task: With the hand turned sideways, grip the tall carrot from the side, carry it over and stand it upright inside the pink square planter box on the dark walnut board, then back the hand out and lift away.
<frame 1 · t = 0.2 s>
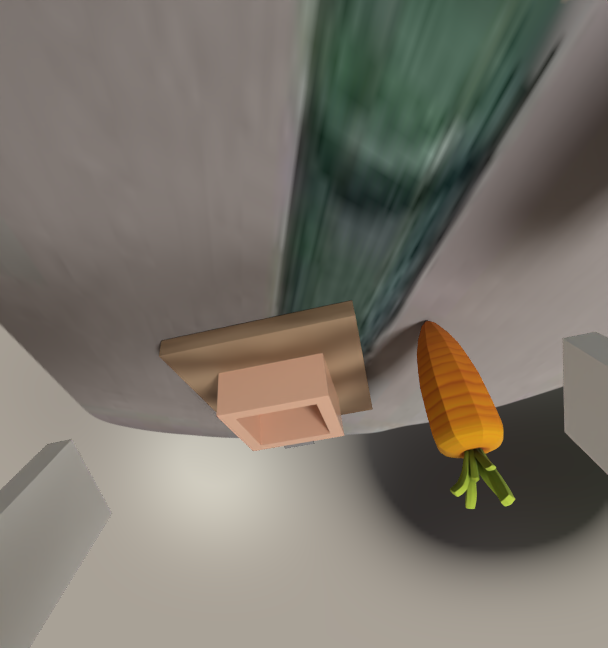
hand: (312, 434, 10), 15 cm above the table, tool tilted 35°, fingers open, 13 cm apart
carrot: (426, 319, 33), on the table
walnut board: (282, 373, 38), on the table
pink square planter box: (283, 387, 37), resting on walnut board
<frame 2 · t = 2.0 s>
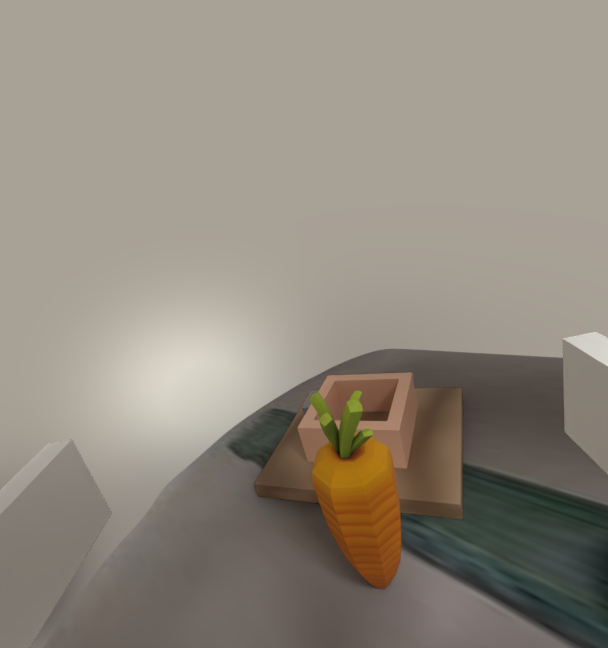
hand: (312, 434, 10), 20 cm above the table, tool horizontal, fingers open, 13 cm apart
carrot: (383, 586, 26), on the table
walnut board: (368, 443, 39), on the table
pink square planter box: (365, 432, 39), resting on walnut board
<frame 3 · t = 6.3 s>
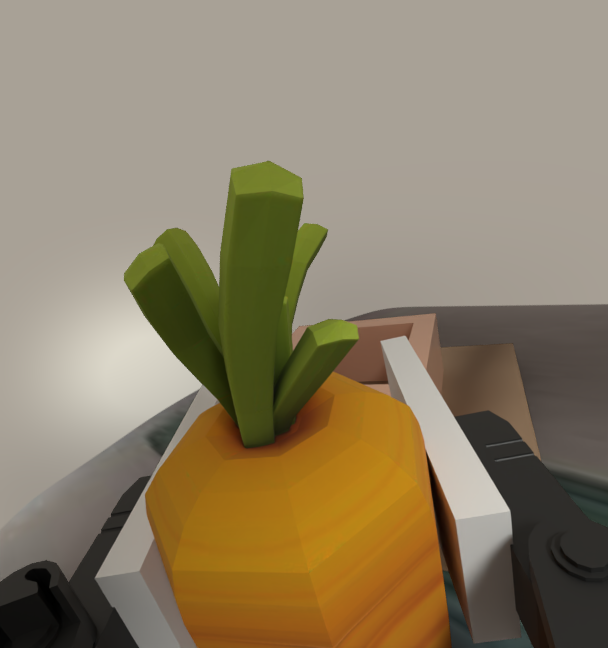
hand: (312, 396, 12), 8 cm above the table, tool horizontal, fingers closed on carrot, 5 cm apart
walnut board: (362, 432, 23), on the table
pink square planter box: (357, 411, 23), resting on walnut board
when the fingers open (11 cm above the table, at t = 10.8 s): carrot drops 1 cm, resting on walnut board.
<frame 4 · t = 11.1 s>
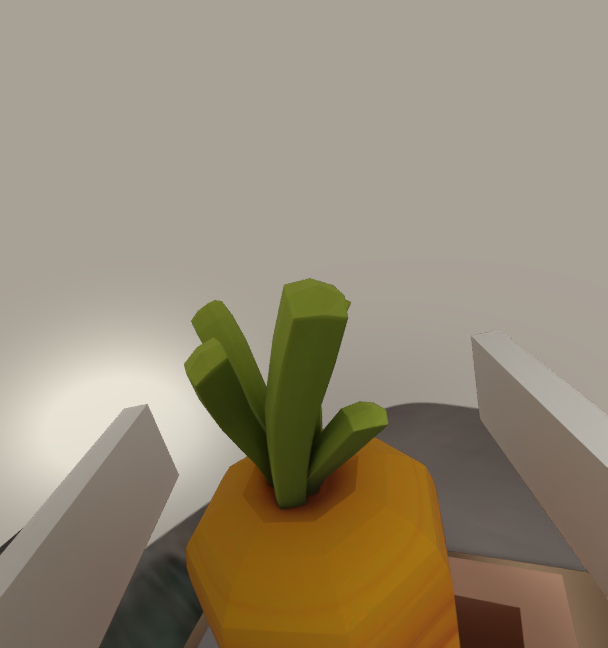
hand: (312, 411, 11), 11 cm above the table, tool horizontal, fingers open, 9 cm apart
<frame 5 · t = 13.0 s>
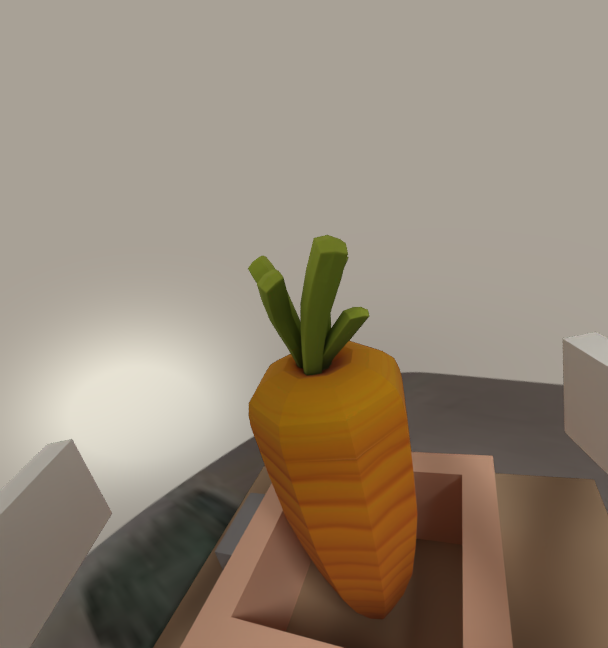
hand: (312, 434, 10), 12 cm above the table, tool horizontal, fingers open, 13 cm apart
carrot: (379, 614, 15), point 1 cm above the table, touching walnut board
walnut board: (385, 635, 16), on the table
pink square planter box: (378, 611, 15), resting on walnut board
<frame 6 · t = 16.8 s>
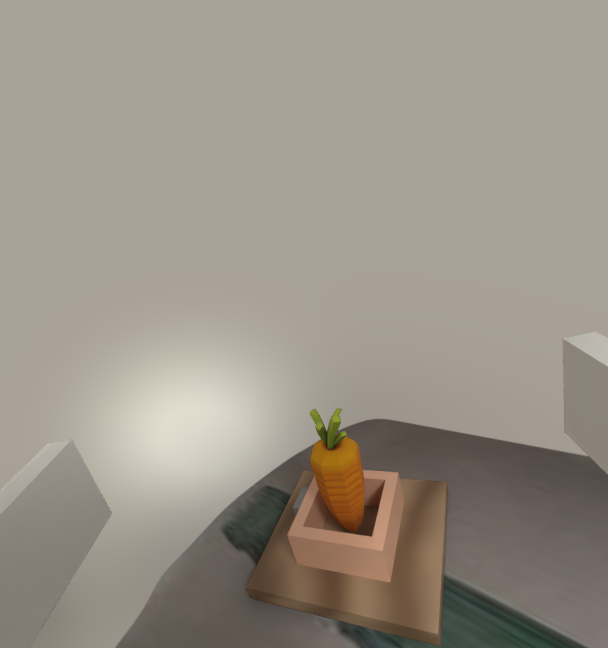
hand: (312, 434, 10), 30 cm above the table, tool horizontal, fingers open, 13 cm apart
carrot: (353, 532, 41), point 1 cm above the table, touching walnut board
walnut board: (356, 541, 41), on the table
pink square planter box: (353, 530, 41), resting on walnut board
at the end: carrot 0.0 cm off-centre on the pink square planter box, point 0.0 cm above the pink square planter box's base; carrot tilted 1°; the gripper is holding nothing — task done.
